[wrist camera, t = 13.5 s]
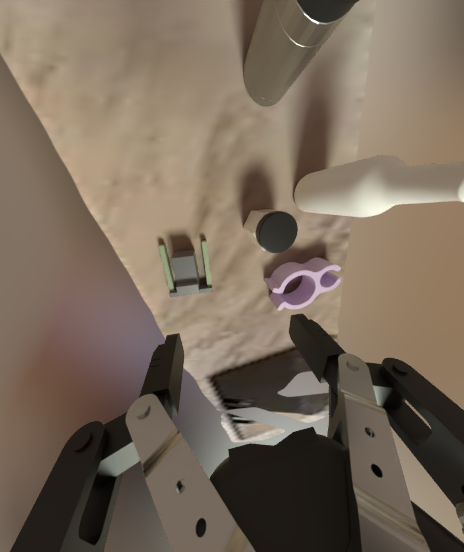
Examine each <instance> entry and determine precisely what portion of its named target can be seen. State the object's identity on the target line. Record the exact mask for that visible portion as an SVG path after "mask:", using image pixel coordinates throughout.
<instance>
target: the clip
mask: <svg viewBox="0 0 464 552" xmlns="http://www.w3.org/2000/svg"><path fill="white" fill-rule="evenodd" d="M340 269H341V268H340V267H339V266H337V265H335V264H333V263H331V262H329V261H326V260H324V259H322V258H319V257H317V258H313V259H311V260H309V261H308V262H306V263H304V264H299V263H296V262H288V263H284V264H282V265H281V266H279V267H278V268H277V269H276V270H275V271H274V272H273V273H272V275H271V277H270V278H265V279H264V282H265V283H266V284H267V285H268V287H269V288H270V289H271V290H272V293H271V294H270V296H269V298H270V299H271V301H272V302H273V304H274V305H275V306H276V308H277V309H278V310H279V311H280V310H282V308H284V307H286V308H288V309H300V308H303V307H305V306H307V305H308V304H310V303H311V302H312V301H313V300H314V299H315V297H316V296H317V295H318V294H320V293H322V292H327V291H330V290H332V289H334V288H335V287H337V286H338V284H339V283H340V282H341V279H340V278H339V277H337V276H335V275H333V274H331V273H329V272H328V271H329V270H335V271H337V272H338V271H340ZM300 275H302V281H301V284H300V285H299V287H298V288H297V289H296V290H294V291H293V292H291V293H287V294H282V293H283V292H284V289H285V286H286V285H287V284H288V282H289V281H290V280H292V279H293V278H295V277H297V276H300Z"/></svg>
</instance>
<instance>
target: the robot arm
mask: <svg viewBox="0 0 464 552" xmlns="http://www.w3.org/2000/svg"><path fill="white" fill-rule="evenodd" d="M357 1H359V0H263V1H262V5H261V8H260V11H259V14H258V18H257V21H256V24H255V27H254V31H253V34H252V37H251V42H250V46H249V49H248V52H247V55H246V59H245V63H244V81H245V85H246V88H247V91H248V93H249V95H250V96H251V98H252V99H253V100H254V101H255V102H256V103H258V104H260V105H262V106H271V105H273V104H276V103H277V102H278V101H279V100H280V99H281V98H282V97H283V95H284V94H285V93H286V92H287V90H288V89H289V88H290V87H291V85H292V84H293V83H294V81H295V80H296V79H297V78H298V76H299V75H300V74H301V72H302V71H303V70H304V69H305V67H306V66H307V65H308V63H309V62H310V61H311V60H312V58H313V57H314V56H315V54H316V53H317V52H318V51H319V49H320V48H321V47H322V45H323V44H324V43H325V42H326V40H327V39H328V38H329V36H330V35H331V34H332V32H333V31H334V30H335V29H336V27H337V26H338V25H339V23H340V22H341V21H342V19H343V18H344V17H345V16H346V14H347V13H348V12H349V10H350V9H351V8H352V7H353V5H354V4H355V3H356V2H357ZM289 334H290V338H291V340H292V341H293V343H294V344H295V346H296V347H297V349H298V350H299V352H300V353H301V355H302V356H303V358H304V359H305V361H306V363H307V364H308V366H309V367H310V369H311V370H312V372H313V373H314V375H315V376H316V377H317V379H318V381H319V382H320V383H323V382H327V383H328V384H329V427H328V437H326V436H323V435H319V434H316V432H315V430H314V428H313V427H311V428H307V429H303V430H299V431H296V432H293V433H292V434H290V435H289V436H287V437H286V438H285V439H283V440H282V441H281V442H279V443H278V444H277V445H274V446H271V445H260V444H247V445H243V446H240V447H235V448H232V449H229V457H228V458H227V459H225V460H224V461H223V462H222V463H221V464H220V465H219V466H218V467H217V468H216V469H215V471H214V472H213V474H212V475H211V477H210V479H209V478H208V476H207V475H206V473H205V472H204V470H203V468H202V467H201V465H200V463H199V462H198V460H197V458H196V457H195V455H194V454H193V452H192V451H191V449H190V447H189V446H188V444H187V443H186V441H185V439H184V437H183V436H182V434H181V433H180V432H179V431H178V430H177V429H176V427H175V425H174V424H173V422H172V416H176V415H178V410H179V400H180V391H181V381H182V372H183V363H184V350H183V346H182V342H181V338H180V334H179V333H178V334H172V335H167V337H166V340H165V344H162V345H159V346H158V347H157V349H156V350H155V351H154V353H153V355H152V359H151V362H150V365H149V369H148V372H147V375H146V378H145V381H144V384H143V387H142V390H141V394H140V396H139V398H138V399H137V400H136V401H135V402H134V403H133V404H132V405H131V407H130V408H129V410H128V411H127V412H126V413H124V414H123V415H122V416H119V417H118V418H116V419H114V420H112V421H110V422H108V423H106V424H105V425H103V424H102V423H101V422H99V421H94V422H90V423H88V424H86V425H84V426H83V427H81V428H80V429H79V430H78V431H76V432H75V433H74V434H73V435H72V436H71V438H70V439H69V440H68V441H67V443H66V444H65V446H64V448H63V450H62V452H61V453H60V456H59V457H58V459H57V461H56V463H55V465H54V467H53V469H52V471H51V473H50V475H49V477H48V479H47V481H46V483H45V485H44V487H43V488H42V490H41V493H40V494H39V497H38V498H37V500H36V502H35V504H34V506H33V508H32V510H31V512H30V514H29V516H28V518H27V520H26V522H25V524H24V525H23V527H22V529H21V531H20V533H19V535H18V537H17V539H16V541H15V543H14V545H13V547H12V549H11V551H10V552H103V551H104V547H105V543H106V539H107V534H108V531H109V527H110V523H111V518H112V514H113V511H114V506H115V502H116V498H117V494H118V490H119V486H120V482H121V478H122V474H123V472H124V471H125V470H127V469H128V468H130V467H131V466H133V465H134V464H136V463H137V462H139V461H141V463H142V466H143V473H144V477H145V479H146V482H147V485H148V488H149V490H150V493H151V496H152V498H153V501H154V504H155V506H156V509H157V511H158V514H159V517H160V519H161V522H162V525H163V527H164V530H165V533H166V535H167V538H168V541H169V543H170V546H171V548H172V551H173V552H464V543H463V542H462V541H461V540H459V539H458V538H457V537H455V536H454V535H453V534H452V533H451V532H449V531H448V530H447V529H446V528H444V527H443V526H442V525H441V524H440V523H438V522H437V521H436V520H434V519H433V518H432V517H431V516H430V515H428V514H427V513H426V512H425V511H423V510H422V509H421V508H420V507H418V506H417V505H416V504H415V503H413V502H412V501H411V500H410V497H409V493H408V490H407V486H406V482H405V479H404V475H403V471H402V468H401V464H400V461H399V458H398V453H397V450H396V446H395V442H394V439H393V435H392V432H391V428H390V426H391V427H392V428H393V430H394V431H395V432H396V433H397V434H398V436H399V437H400V438H401V440H402V441H403V442H404V443H405V445H406V446H407V447H408V448H409V450H410V451H411V452H412V453H413V454H414V456H415V457H416V458H417V460H418V461H419V462H420V463H421V465H422V466H423V467H424V469H425V470H426V471H427V472H428V474H429V475H430V476H431V477H432V479H433V480H434V481H435V482H436V484H437V485H438V486H439V487H440V489H441V490H442V491H443V492H444V494H445V495H446V496H447V497H448V499H449V500H450V501H451V502H452V504H453V505H454V506H455V508H456V512H457V515H458V518H459V520H460V522H461V524H462V526H463V527H462V531H463V533H464V410H463V409H461V408H460V407H459V406H458V405H457V404H455V403H454V402H453V401H452V400H451V399H449V398H448V397H447V396H446V395H445V394H443V393H442V392H441V391H440V390H439V389H437V388H436V387H435V386H434V385H432V384H431V383H430V382H429V381H428V380H426V379H425V378H424V377H423V376H422V375H420V374H419V373H418V372H417V371H415V370H414V369H413V368H412V367H411V366H409V365H408V364H406V363H404V362H403V361H400V360H398V359H394V358H385V359H384V360H383V362H382V364H375V363H366V362H364V361H362V359H360V358H359V357H357V356H355V355H352V354H347V353H346V352H345V351H344V350H343V349H342V348H341V347H340V346H339V345H338V344H337V343H336V342H335V341H334V340H333V339H332V338H331V337H330V336H329V335H328V334H327V332H326V331H325V330H323V328H322V327H321V326H320V325H319V324H318V323H316V322H314V321H313V320H311V319H310V320H308V319H307V318H306V316H305V315H304V314H296V315H292V316H291V320H290V328H289ZM405 400H407V401H408V402H409V403H410V404H411V405H412V406H413V407H414V408H415V409H416V410H417V411H418V412H419V413H420V414H421V415H422V416H423V417H424V418H425V420H426V421H427V422H428V423H429V425H430V426H431V429H432V430H431V429H430V428H429V427H428V426H427V425H426V424H425V423H424V422H423V421H422V419H420V417H419V416H418V415H417V414H416V413H415V412H414V411H413V410H412V409H411V408H410V407H409V406H408V405H407V404H406V403H405Z"/></svg>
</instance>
